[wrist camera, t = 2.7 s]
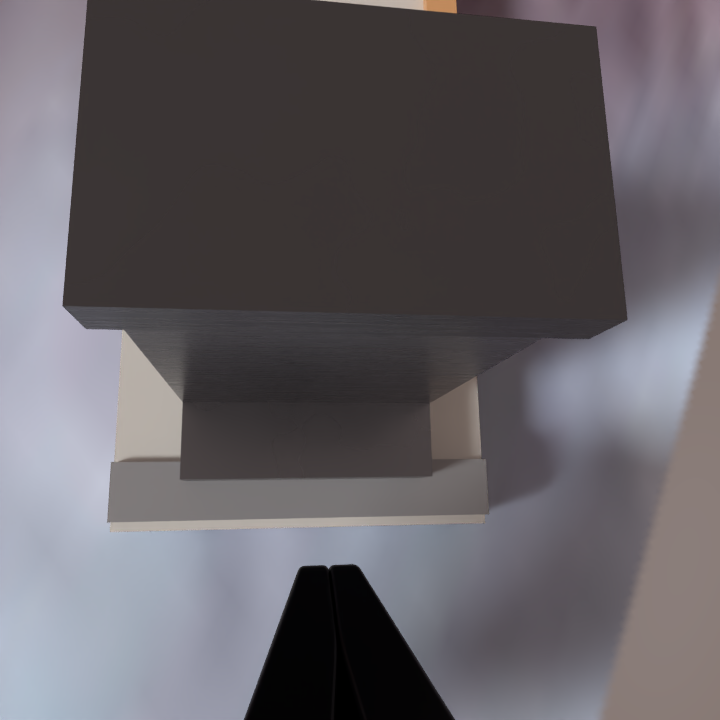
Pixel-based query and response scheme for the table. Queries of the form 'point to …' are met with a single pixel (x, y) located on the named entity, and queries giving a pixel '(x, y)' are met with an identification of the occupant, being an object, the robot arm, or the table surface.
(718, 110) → the table surface
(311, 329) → the fader knob
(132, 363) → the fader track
